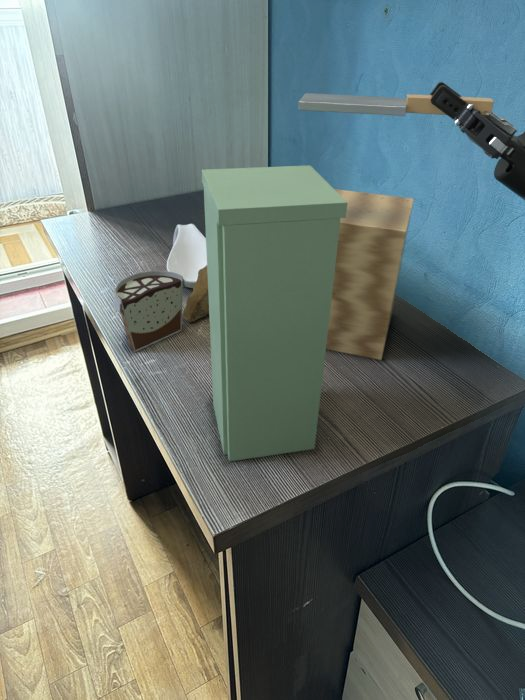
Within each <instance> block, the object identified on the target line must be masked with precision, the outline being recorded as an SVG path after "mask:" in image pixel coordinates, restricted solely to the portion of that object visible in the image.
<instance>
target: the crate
mask: <svg viewBox="0 0 525 700" xmlns="http://www.w3.org/2000/svg"><path fill="white" fill-rule="evenodd" d="M334 189H335V190H336V191H337V192H338V193H339V194H340V195H341V196H342V197H343V198H344V199H345V200H346V201H347V211H346V218H341V220H340V229H339V238H338V247H337V255H336V264H335V273H334V282H333V291H332V300H331V308H330V317H329V326H328V335H327V344H326V350H329V351H333V352H339V353H342V354H343V353H344V354H349V355H353V356H359V357H364V358H368V359H369V358H370V359H374V360H380V361H382V360H383V357H384V356H383V355H384V351H385V347H386V342H387V337H388V333H389V329H390V324H391V320H392V316H393V311H394V310H393V309H394V305H395V299H396V293H397V290H398V289H397V288H398V284H399V279H400V274H401V268H402V263H403V257H404V253H405V247H406V243H407V237H408V233H409V226H410V223H411V216H412V211H413V207H414V206H413V205H414V202H415V198H412V197H406V196H405V197H404V196H397V195H387V194H380V193H379V194H378V193H371V192H362V191H356V190H355V191H354V190H345V189H338V188H334Z"/></svg>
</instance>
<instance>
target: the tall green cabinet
mask: <svg viewBox="0 0 525 700" xmlns="http://www.w3.org/2000/svg"><path fill="white" fill-rule="evenodd" d="M201 183H202V186H203V202H204V205H203V206H204V224H205V225H204V227H205V238H206V251H207V274H208V296H209V314H208V315H209V337H210V339H209V340H210V362H211V384H212V385H211V386H212V403H213V404H212V405H213V410H214V411H213V412H214V415H215V420H216V424H217V429H218V434H219V439H220V444H221V449H222V453H223V455H225V456H226V455H227V458H228V461H229V462H235V461H243V460H247V459H248V460H249V459H255V458H263V457H271V456H275V455H276V456H277V455H282V454H290V453H297V452H305V451H310V450H315V449H316V441H317V431H318V423H319V422H318V421H319V414H320V413H319V412H320V403H321V398H322V397H321V395H322V389H323V386H322V385H323V379H324V369H325V360H326V351H327V349H326V344H327V335H328V326H329V317H330V308H331V300H332V291H333V282H334V273H335V264H336V255H337V247H338V238H339V229H340V220H341V218H346V211H347V201H346V200H345V199H344V198H343V197H342V196H341V195H340V194H339V193H338V192H337V191H336V190H335V189H336V188H334V187H333V186H331V184H330V183H329V182H328V181H327V180H326V179H324V177H323V176H322V175H321V174H320V173H319V172H318V171H316V169H314V167H313V166H312V165H306V164H305V165H285V166H284V165H283V166H262V167H261V166H259V167H257V166H256V167H237V168H235V167H234V168H233V167H231V168H211V169H210V168H209V169H201Z"/></svg>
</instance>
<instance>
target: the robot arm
mask: <svg viewBox="0 0 525 700" xmlns="http://www.w3.org/2000/svg"><path fill="white" fill-rule="evenodd" d="M429 95H433V96H432V97H431V103H432V104H433V105H434V106H436V107H437V108H438V109H440V110H441V111H442V112H444V113H445V114H446V115H445V116H448V117H449V118H450V119H452V120H453V123H454V124H455V126H456V127H458V128H459V129H460V132H462V133H463V134H465V135H466V137H467V139H469V140H470V141H471V142H473V143H474V144H475V145H477V146H478V147H479V148H480V149H482V151H483V153H484V154H485V155H486V156H488V158H490V159H496V160H498V161H497V163H496V165H495V167H494V169H493V170H494V171H493V177H494V179H495V180H496V181H498V182H499V183H500V184H502V185H503V186H504V187H505V188H507V189H509V190H510V191H511V192H513V194H514V195H517V196H518V197H519V198H520V199H522V200H524V201H525V130H524V131H523V133H521V134H520V135H515V134H516V133H517V132H518V129H517V128H515V127H514V125H513V123H511V122H510V121H509V120H507V119H506V118H504V117H500V116H498V115H497V114H496V113H494V112H493V111H492V112H491V113H490V112H488V111H484V112H480V111H479V110H478V109H476V108H475V106H474V105H473V104H469V103H468V104H467V105H466V101H464V100H463V99H462V98H460V97H463V96H462V95H461V94H459V93H458V92H457V91H456V90H454V89H453V88H451V87H450V86H449V85H448V84H446V83H445V82H444V81H439V82H437V84H436V85H435V87H434V88H433V89H432V90H431V92H430V93H429ZM465 105H466V106H465Z"/></svg>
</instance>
